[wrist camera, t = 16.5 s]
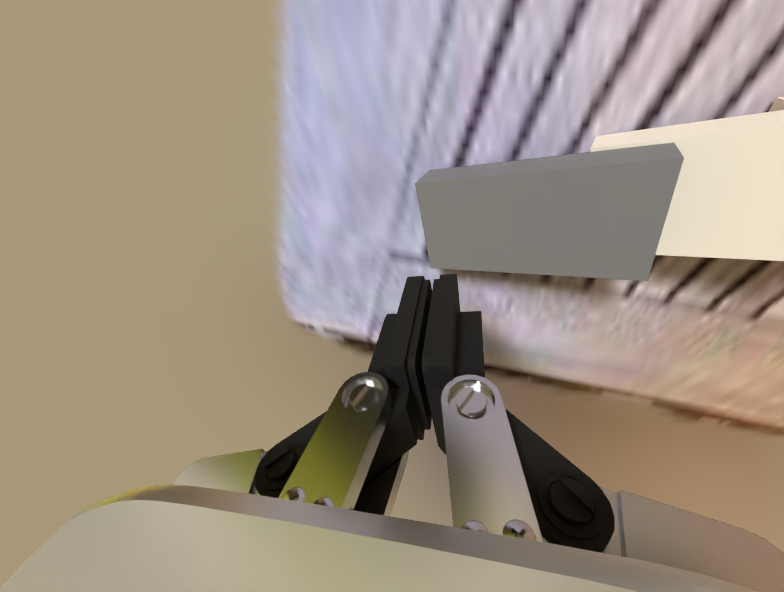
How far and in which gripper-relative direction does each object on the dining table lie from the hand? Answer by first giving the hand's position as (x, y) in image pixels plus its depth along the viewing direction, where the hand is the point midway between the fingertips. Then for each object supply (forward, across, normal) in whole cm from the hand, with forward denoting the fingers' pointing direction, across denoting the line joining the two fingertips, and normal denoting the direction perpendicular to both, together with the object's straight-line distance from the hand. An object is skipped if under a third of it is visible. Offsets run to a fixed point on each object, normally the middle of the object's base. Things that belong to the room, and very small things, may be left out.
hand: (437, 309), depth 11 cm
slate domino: (+8, +1, 0) cm, 8 cm away
